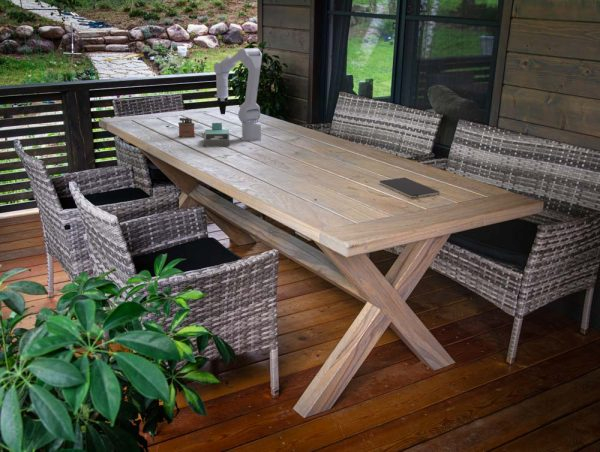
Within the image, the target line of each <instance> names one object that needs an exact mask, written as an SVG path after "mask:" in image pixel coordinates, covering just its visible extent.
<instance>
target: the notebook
mask: <svg viewBox="0 0 600 452" xmlns="http://www.w3.org/2000/svg"><path fill="white" fill-rule="evenodd" d="M379 185H381V186H383V185H384V186H383V187H385V186H386V187H385V188H388V187H389V188H388V189H390V188H391V189H390V190H392V189H393V190H392V191H394V190H395V192H396V191H397V193H399V192H400V193H399V194H401V193H402V194H401V195H403V194H404V195H403V196H405V195H407V196H406V197H408V196H409V197H408V198H410V197H418V198H421V197H420V196H424V197H428V196H427V195H430V196H435V195H434V194H436V195H439V194H440V191H438V190H436V189H434V188H431V187H429V186H427V185H424V184H422V183H419V182H417V181H415V180H412V179H410V178H407V177H398V178H397V177H396V178H390V179H383V180H379ZM438 193H439V194H438Z"/></svg>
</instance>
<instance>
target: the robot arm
mask: <svg viewBox="0 0 600 452" xmlns="http://www.w3.org/2000/svg"><path fill="white" fill-rule="evenodd" d="M262 58H263V54H262V52H261V50H260V48H259V47H253V48H243V47H242V48H240V49H238V50H237V52H236V53H235V54H234V55H232V56H230V55H227V56H226V57H225V58H224V59H222V60H221V61H220V62H218V61H216V62H215V63H214V65H213V72H214V73H215V74H216V75H215V76H216V81H215V82H216V94H214V97H215V98H216V97H217V98H216V99H217V100H216V103H217V105H218V108H219V113H220V115H226V109H227V105H228V103H229V101H228V100H229V79H228V78H229V73H230V71H231V70H232V69H233V68H235V67H236V65H237V63H239V62H241V63H242V65H243V67H244V68H246V69H247V70H248V75H247V83H246V90H245V99H244V102H243V103H242V104H241V105H240V107H239V110H238V114H237V116H238V119H239V121H240V123H241V141H245V142H247V141H251V142H253V141H259V142H261V141H262V124H261V121H259V119H260V117H261V110H260V109H261V107H260V105H259V104H258V103H257V97H258V89H259V81H260V76H261V74H260V73H261V66H262V60H263V59H262Z"/></svg>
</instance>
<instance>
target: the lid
mask: <svg viewBox="0 0 600 452" xmlns="http://www.w3.org/2000/svg"><path fill="white" fill-rule="evenodd" d="M229 130H230V129H229V128H228V129H224V128H223V123H222V122H211V128H210V129H205V131H204V134H229V135H230V131H229Z"/></svg>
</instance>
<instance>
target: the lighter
mask: <svg viewBox="0 0 600 452" xmlns="http://www.w3.org/2000/svg"><path fill="white" fill-rule="evenodd" d="M179 121H180V122H178V134H179V135H178V137H179V138H186V139H187V138H188V139H189V138H190V139H192V138H193V139H194V138H196V136H195V134H196V133H195V122H193V119H192V118H189V117H186V118H185V117H180V118H179Z"/></svg>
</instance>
